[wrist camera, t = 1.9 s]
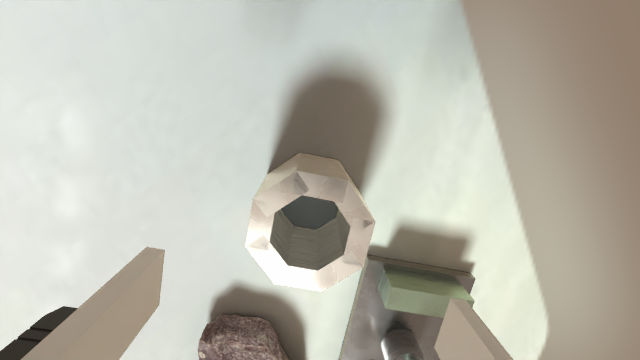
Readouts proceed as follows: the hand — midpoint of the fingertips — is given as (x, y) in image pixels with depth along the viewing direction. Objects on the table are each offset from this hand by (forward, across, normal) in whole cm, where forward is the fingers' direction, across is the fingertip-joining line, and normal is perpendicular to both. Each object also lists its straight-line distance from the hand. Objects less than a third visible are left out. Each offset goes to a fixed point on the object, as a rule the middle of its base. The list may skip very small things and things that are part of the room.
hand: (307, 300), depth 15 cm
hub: (+14, 0, 0) cm, 14 cm away
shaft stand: (+14, +11, -12) cm, 21 cm away
